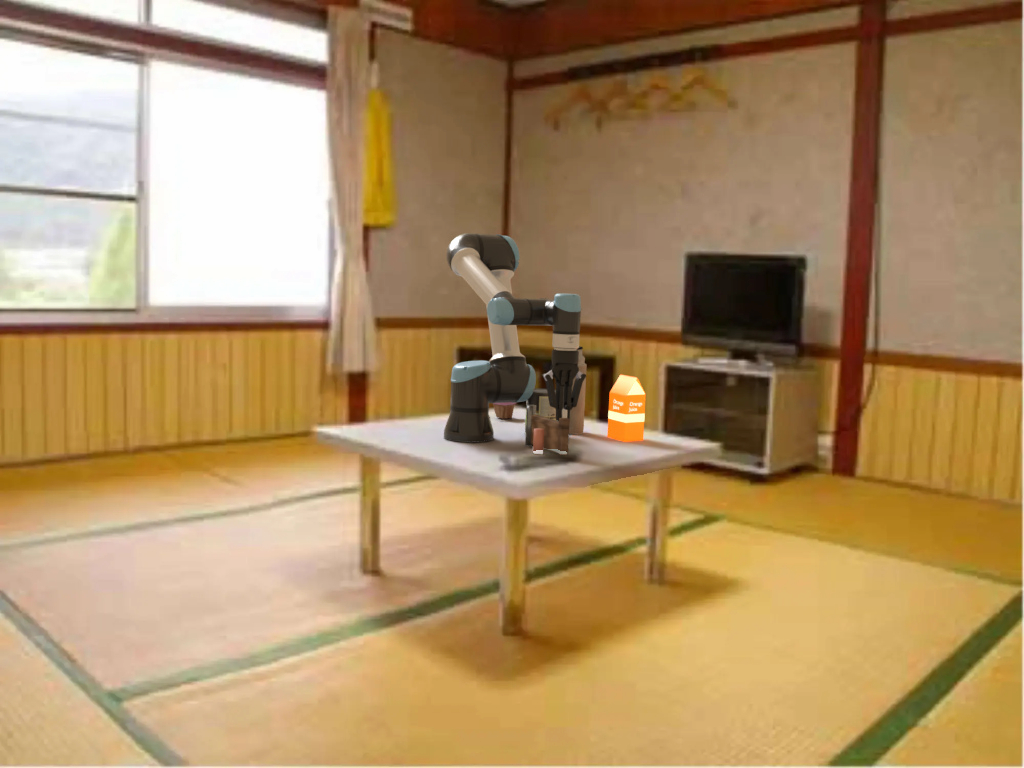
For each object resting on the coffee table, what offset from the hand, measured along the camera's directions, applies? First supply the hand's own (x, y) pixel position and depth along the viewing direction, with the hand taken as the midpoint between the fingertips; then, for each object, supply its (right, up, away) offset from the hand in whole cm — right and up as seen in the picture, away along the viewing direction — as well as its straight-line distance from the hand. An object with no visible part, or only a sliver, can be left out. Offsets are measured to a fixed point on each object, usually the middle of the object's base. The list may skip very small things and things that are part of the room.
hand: (562, 432), depth 266 cm
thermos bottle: (+5, -2, +40) cm, 40 cm away
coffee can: (-5, -3, +33) cm, 33 cm away
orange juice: (+22, -4, +31) cm, 38 cm away
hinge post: (-9, -5, +13) cm, 16 cm away
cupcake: (-17, +1, +63) cm, 65 cm away
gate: (-4, -5, +3) cm, 7 cm away
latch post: (-7, -6, +1) cm, 9 cm away
